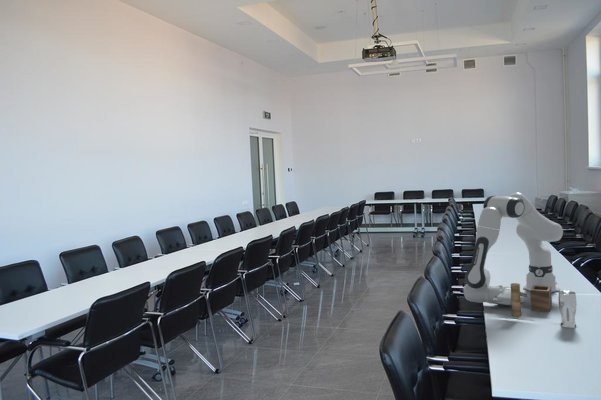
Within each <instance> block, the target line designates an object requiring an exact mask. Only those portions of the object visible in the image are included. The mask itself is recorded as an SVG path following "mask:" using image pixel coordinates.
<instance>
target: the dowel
mask: <svg viewBox="0 0 601 400" xmlns="http://www.w3.org/2000/svg"><path fill="white" fill-rule="evenodd" d="M510 287H511V304H512V305H511V316H513V317H514V318H513V319H515V320H517V317H522V305H521V303H522V302H521V300H520V298H521V296H520V292H521V284H520V283H518V282H517V283H516V282H515V283H514V282H512V283H510ZM515 317H516V318H515Z"/></svg>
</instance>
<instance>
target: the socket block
mask: <svg viewBox="0 0 601 400" xmlns="http://www.w3.org/2000/svg"><path fill="white" fill-rule="evenodd" d="M529 292H530V310H531V311H536V312H543V313H544V312H547V313H550V311H551V310H552V307H553V300H552V299H553V296H552V295H553V294H552V293H553V292H551V286H537V285H533V287H532V288H531V290H530V291H529Z"/></svg>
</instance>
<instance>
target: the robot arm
mask: <svg viewBox="0 0 601 400" xmlns="http://www.w3.org/2000/svg"><path fill="white" fill-rule="evenodd" d="M502 218H512V219H516V220H517V222H518V223H517V226H516V227H515V228H516V231H515V232H516V234H517V236H518V237H519V238H520V239H521V240H522V241H523V242H524V245H525V246H526V248H527V251H528V259H529V265H528V271H529V272H528V273H527V274H526V275H525V276H526V278H525V279H526V281H525V282H526V283H525V285H524V286H522V287H523V290H526V291H529V292H530V290H531V288H532V287H533V285H537V286H551V292H552V293H555V292H560V291H561V287H560V286H559V284H558V283H557V281H556V275H555V274H554V273H553V272H554V271H553V269H554V267H553V264H552V252H551V250H550V249H549V248H548V247H546V246H545V244H544V243H543V242H547V243H548V242H549V243H550V242H552V243H553V242H557V241H558V242H559V241H561V239H562V237H563V234H564V229H563V226H562V225H561V224H560V223H558V222H555V221H553V220H550V219H549V218H548V217H546V216H544V215H543V214H542V213H540V212H539V211H538V210H537V209H536V207H535V206H534V205H533V204H532V202H531V201H530V200H529V199H528V198H527V197H526V195H524V194H523V193H521V192H513V193H510V194H509V195H508V196H507V195H506V196H501V195H500V196H499V195H491V196H490V195H489V196H487V197H486V198H485V200H484V202H483V209H482V210H481V213H480V215H479V217H478V223H477V225H476V226H477V227H476V234H475V235H476V236H475V246H474V250H473V254H472V258H471V263H470V266H469V268H468V269H467V270H466V272H465V274H464V281H465V283H466V284H465V285H464V286H463V292H462V293H463V296H464V297H465V299H466V300H467V301H469V302H473V303H481V304H482V303H487V304H493V305H505V306H512V304H511V286H504V285H494V286H493V285H490V282H491V273H490V271H489V270H488V269H487V268H485V265H486V260H487V255H488V252H489V250H491V248H492V247H493V246H494V245H495V244H496V243H497V241H498V239H499V235H500V231H501V222H502V221H501V220H502ZM527 297H528V292H523V291H520V300H521V303H524V302H525V298H527Z"/></svg>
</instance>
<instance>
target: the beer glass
mask: <svg viewBox="0 0 601 400" xmlns="http://www.w3.org/2000/svg"><path fill="white" fill-rule="evenodd" d="M577 305H578V304H577V294H576V292H575V291H572V290H560V291H558V308H559V312H560V315H561V319H560V320H561V321H560V327H562V328H565V329H575V328H577V323H576V313H577V312H576V311H577V307H578V306H577Z"/></svg>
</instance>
